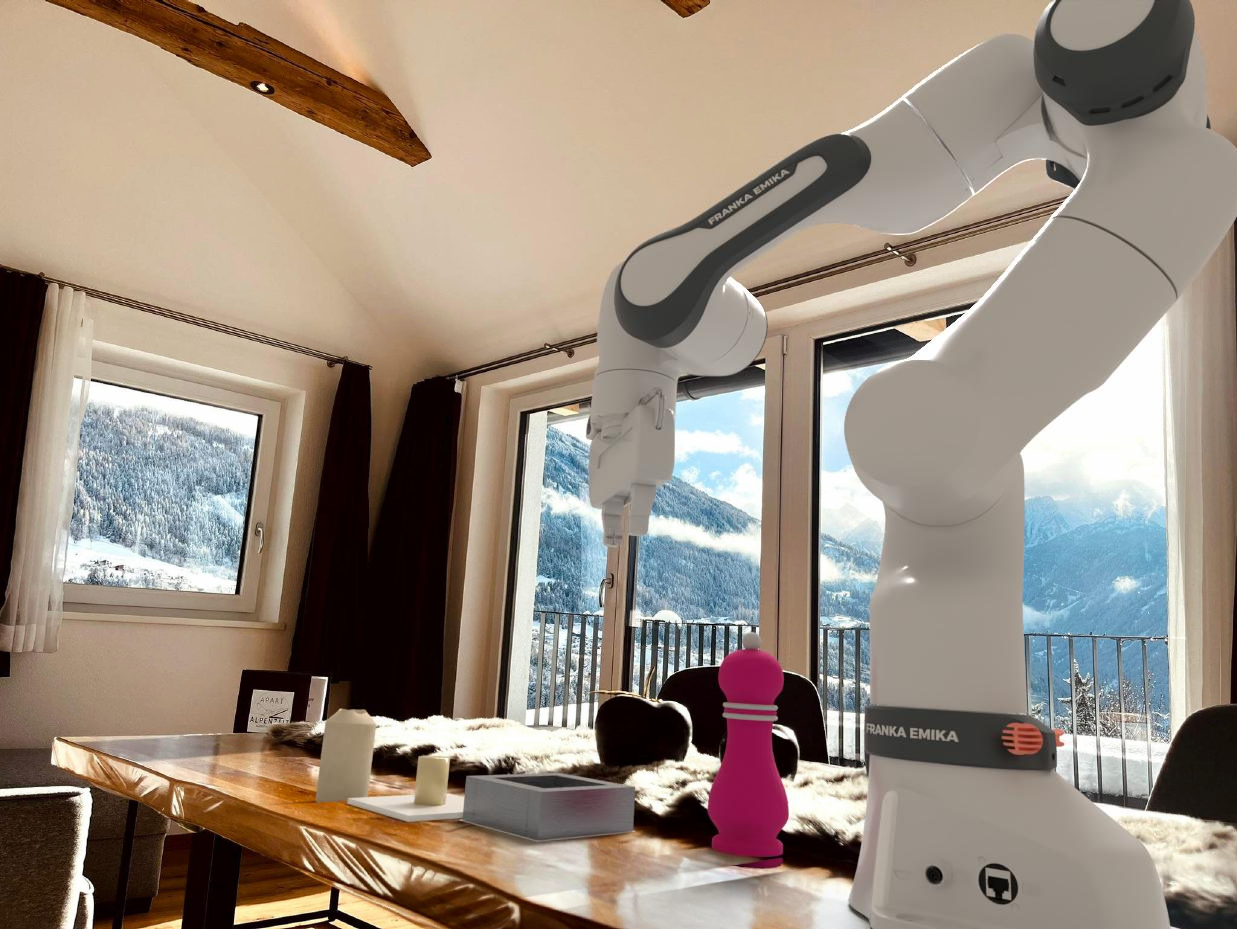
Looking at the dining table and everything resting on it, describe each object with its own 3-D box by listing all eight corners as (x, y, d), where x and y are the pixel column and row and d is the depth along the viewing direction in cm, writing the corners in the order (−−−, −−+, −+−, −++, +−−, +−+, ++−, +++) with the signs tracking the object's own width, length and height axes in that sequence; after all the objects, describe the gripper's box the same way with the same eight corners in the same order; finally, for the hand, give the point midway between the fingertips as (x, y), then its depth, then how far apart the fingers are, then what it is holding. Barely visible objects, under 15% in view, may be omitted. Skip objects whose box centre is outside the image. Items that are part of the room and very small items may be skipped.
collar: (632, 831, 85) (635, 786, 86) (537, 840, 77) (541, 791, 78) (555, 812, 93) (558, 772, 94) (462, 819, 85) (466, 776, 86)
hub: (510, 824, 91) (515, 762, 92) (407, 832, 83) (414, 765, 84) (445, 807, 99) (451, 750, 101) (346, 813, 91) (353, 752, 93)
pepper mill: (693, 861, 77) (701, 628, 82) (723, 849, 84) (729, 633, 88) (773, 874, 74) (777, 630, 79) (798, 861, 80) (800, 635, 85)
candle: (347, 808, 95) (359, 711, 97) (304, 803, 97) (317, 707, 99) (376, 802, 100) (387, 710, 102) (335, 797, 102) (346, 707, 104)
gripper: (695, 386, 84) (687, 531, 81) (636, 435, 103) (627, 554, 100) (631, 376, 82) (620, 523, 79) (583, 428, 102) (572, 548, 99)
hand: (623, 541), depth 90 cm, fingers open, 8 cm apart
